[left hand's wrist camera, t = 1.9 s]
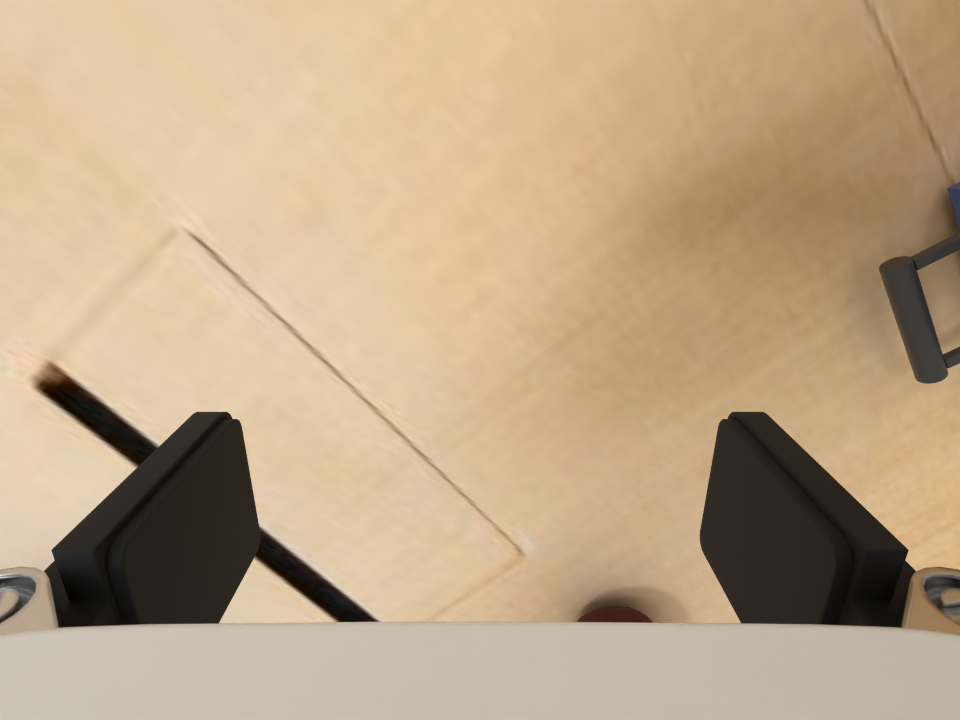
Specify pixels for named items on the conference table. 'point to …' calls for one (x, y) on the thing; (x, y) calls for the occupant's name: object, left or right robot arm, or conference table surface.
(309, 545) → the conference table surface
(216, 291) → the conference table surface
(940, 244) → the drawer
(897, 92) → the conference table surface
